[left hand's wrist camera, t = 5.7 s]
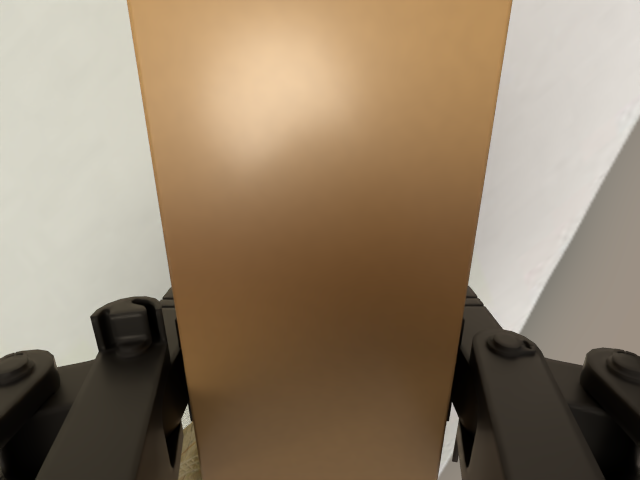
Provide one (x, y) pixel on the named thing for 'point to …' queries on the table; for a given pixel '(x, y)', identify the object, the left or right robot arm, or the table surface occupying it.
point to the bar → (319, 220)
